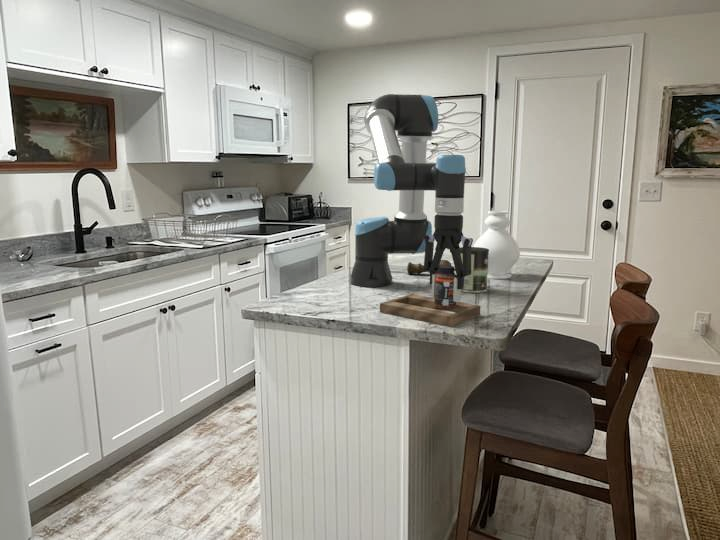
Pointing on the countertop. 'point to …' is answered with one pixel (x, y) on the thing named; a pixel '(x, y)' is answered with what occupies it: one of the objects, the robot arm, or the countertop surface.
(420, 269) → the kendama
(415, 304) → the brown wooden picture frame
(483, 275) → the coffee can
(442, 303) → the supplement bottle
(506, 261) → the decorative vase
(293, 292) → the countertop surface
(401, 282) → the countertop surface
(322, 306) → the countertop surface
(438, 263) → the robot arm
